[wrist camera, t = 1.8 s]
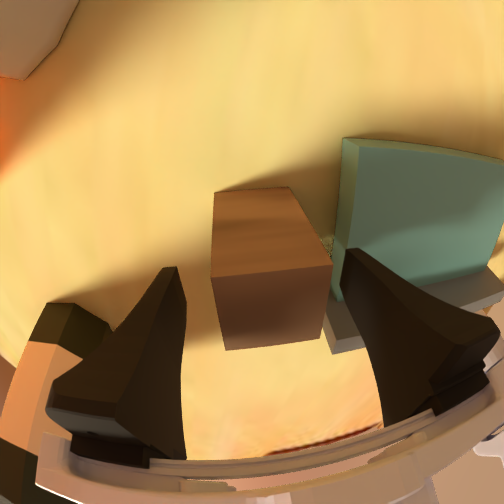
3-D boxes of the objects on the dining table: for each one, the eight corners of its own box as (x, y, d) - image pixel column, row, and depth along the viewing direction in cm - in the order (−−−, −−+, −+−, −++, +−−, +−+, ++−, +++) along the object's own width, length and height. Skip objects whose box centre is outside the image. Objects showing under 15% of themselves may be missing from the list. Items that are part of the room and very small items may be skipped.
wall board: (473, 268, 21) (500, 301, 16) (312, 299, 20) (332, 354, 15) (506, 161, 14) (547, 186, 10) (325, 137, 13) (371, 164, 9)
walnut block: (287, 247, 17) (319, 338, 11) (221, 254, 17) (225, 350, 11) (288, 186, 14) (333, 264, 9) (214, 192, 14) (210, 277, 9)
